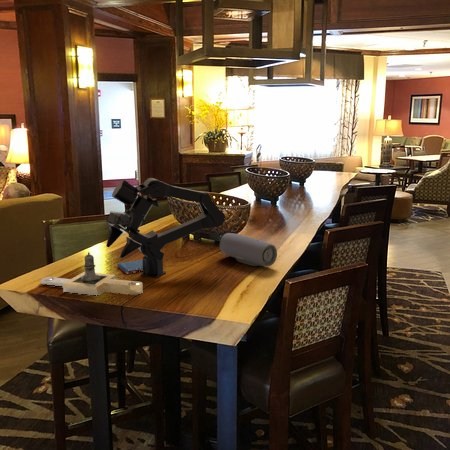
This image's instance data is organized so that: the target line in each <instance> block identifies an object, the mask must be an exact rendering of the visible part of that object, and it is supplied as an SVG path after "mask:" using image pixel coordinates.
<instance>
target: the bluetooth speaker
mask: <svg viewBox="0 0 450 450" xmlns="http://www.w3.org/2000/svg"><path fill="white" fill-rule="evenodd" d="M219 249H220V251H221V253H223V254H225V255H227V256H229V257H232V258H234V259H235V260H236V261H237V263H241V264H245V265H248V266H250V267H251V266H252V267H257V266H260V267H271V266H272V265H274V264H275V262H276V261H277V258H278V250H277V248H276V246H275V245H274V244H272V243H270V242H267V241H264V240H261V239H257V238H255V237H251V236H247V235H242V234H239V233H232V232H227V233H224V234H223V235H222V237H221V238H220V241H219Z"/></svg>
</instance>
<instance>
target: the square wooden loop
mask: <svg viewBox="0 0 450 450" xmlns="http://www.w3.org/2000/svg"><path fill="white" fill-rule="evenodd" d="M95 274H96V275H99V276H100V278H99V280H101V281H99V282H97V283H96V284H86V283H79V282H81V281H82V280H81V277H83V276H85V271H83V272H81V273H79V274H78V275H77V274H76V275H75V276H74V277H71V278H69V279H70V280H68V281H66V282H65V283H63V287H62V289H63V288H67V289H76V290H86V291H95V292H97V291H99V290H101V289H102V288H104V292H103V293H110V292H111V294H112V293H113V294H119V293H120V294H121V295H128V294H130V296H139V295H138V294H140V295H142V294H143V291H144V290H143V289H144V288H143V287H144V286H143V282H142V281H137V280H134V281H133V280H125V279H117V275H116V274H110V273H98V272H95ZM141 293H142V294H141Z"/></svg>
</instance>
